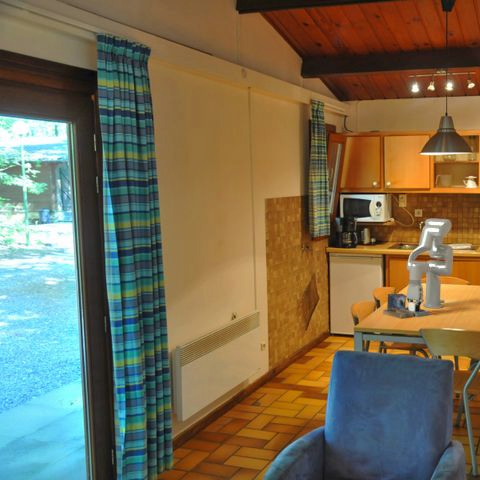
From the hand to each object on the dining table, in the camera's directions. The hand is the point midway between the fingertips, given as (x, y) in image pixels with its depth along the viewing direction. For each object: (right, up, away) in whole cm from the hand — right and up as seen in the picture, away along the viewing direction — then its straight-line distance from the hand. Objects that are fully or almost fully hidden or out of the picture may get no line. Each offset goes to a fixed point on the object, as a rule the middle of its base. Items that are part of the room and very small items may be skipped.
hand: (414, 310), depth 453 cm
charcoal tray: (0, -3, 0) cm, 3 cm away
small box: (-9, -2, +14) cm, 16 cm away
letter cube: (0, 0, 0) cm, 0 cm away
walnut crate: (-11, -3, -4) cm, 12 cm away
